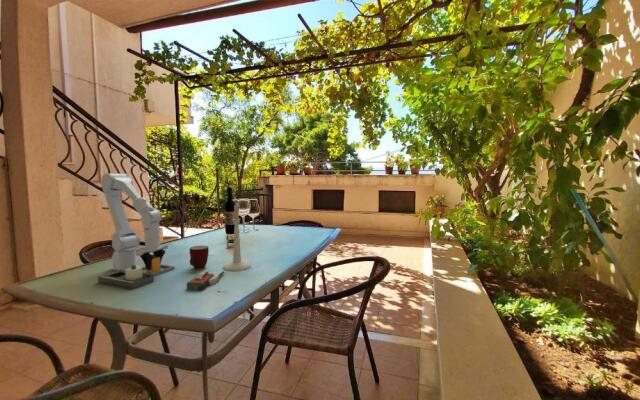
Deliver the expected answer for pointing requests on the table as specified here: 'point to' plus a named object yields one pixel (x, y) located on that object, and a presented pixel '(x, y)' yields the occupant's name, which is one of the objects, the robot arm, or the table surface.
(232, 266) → the candlestick
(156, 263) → the plug
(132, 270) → the twin plug
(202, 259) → the mug
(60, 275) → the table surface
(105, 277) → the open box
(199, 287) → the walkie-talkie
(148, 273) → the tray
